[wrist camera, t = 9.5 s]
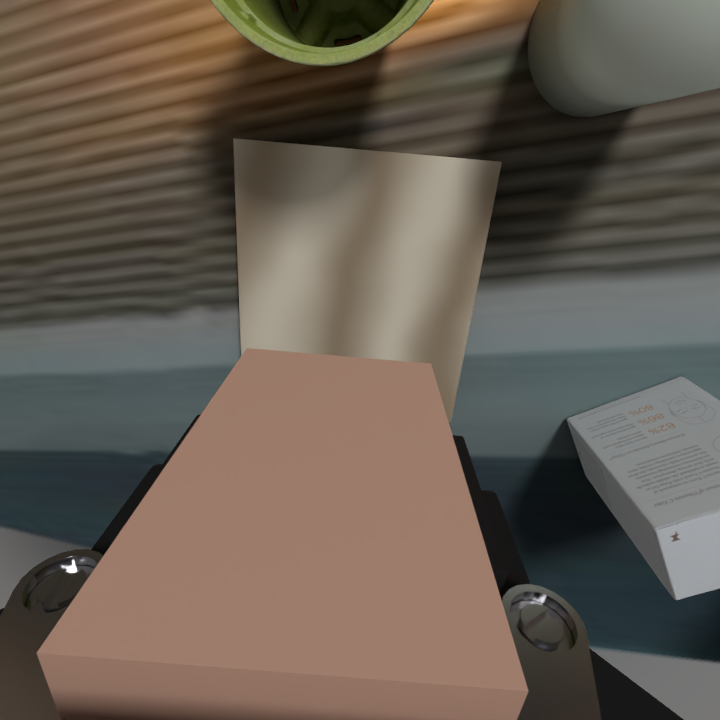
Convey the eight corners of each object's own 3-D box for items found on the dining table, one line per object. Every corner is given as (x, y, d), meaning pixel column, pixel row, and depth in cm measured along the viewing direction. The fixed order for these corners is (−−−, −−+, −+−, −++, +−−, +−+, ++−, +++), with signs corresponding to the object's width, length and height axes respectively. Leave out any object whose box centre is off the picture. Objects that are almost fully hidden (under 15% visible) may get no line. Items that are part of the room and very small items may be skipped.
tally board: (494, 162, 24) (501, 161, 22) (447, 411, 30) (450, 423, 29) (241, 139, 24) (233, 138, 22) (248, 394, 30) (243, 405, 29)
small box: (583, 474, 32) (671, 605, 23) (563, 415, 30) (651, 531, 21) (696, 437, 31) (843, 560, 21) (683, 372, 29) (839, 476, 19)
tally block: (431, 363, 12) (528, 690, 4) (407, 505, 14) (447, 888, 6) (247, 348, 12) (35, 653, 4) (251, 492, 14) (113, 865, 6)
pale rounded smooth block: (697, -49, 20) (924, -200, 12) (644, 122, 23) (796, 97, 15) (547, -63, 20) (669, -223, 12) (513, 111, 23) (592, 79, 15)
